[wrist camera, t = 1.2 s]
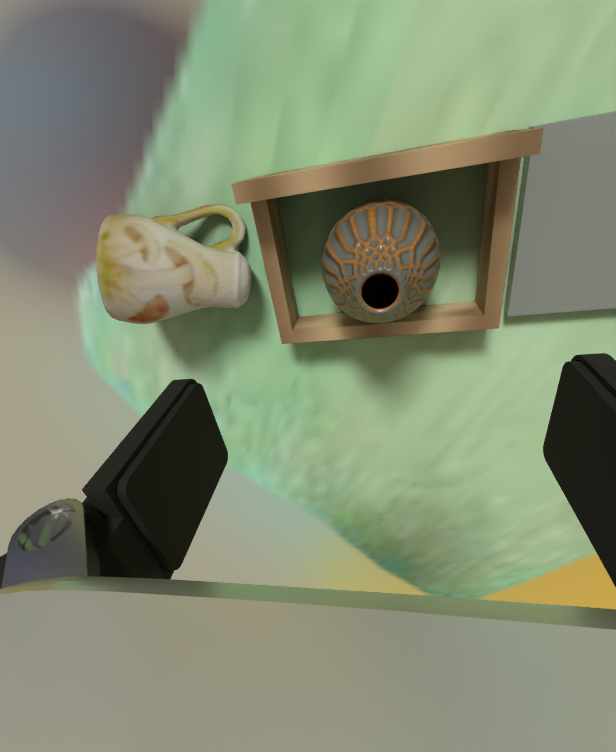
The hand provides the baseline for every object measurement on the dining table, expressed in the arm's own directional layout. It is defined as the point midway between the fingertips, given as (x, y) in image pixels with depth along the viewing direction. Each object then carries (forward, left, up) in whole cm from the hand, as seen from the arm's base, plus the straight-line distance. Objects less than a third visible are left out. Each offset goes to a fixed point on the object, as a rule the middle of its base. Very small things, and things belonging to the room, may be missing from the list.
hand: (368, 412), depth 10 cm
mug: (+13, -1, -18) cm, 23 cm away
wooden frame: (0, 0, -18) cm, 18 cm away
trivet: (-14, 0, -18) cm, 23 cm away
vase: (0, 0, -18) cm, 18 cm away
